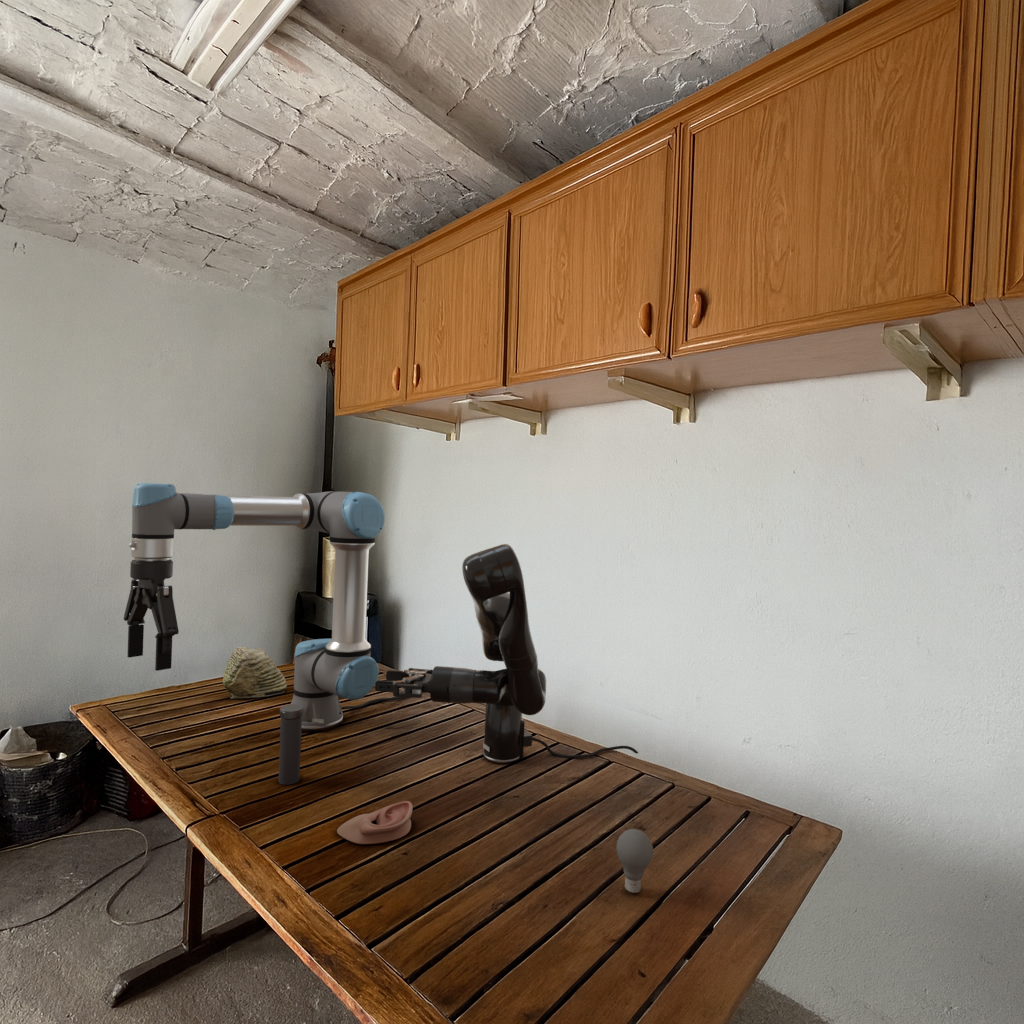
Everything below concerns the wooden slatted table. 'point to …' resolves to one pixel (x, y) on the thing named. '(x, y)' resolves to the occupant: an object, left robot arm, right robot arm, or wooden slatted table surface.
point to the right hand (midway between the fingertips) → (381, 680)
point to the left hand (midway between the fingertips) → (148, 662)
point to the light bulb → (634, 857)
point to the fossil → (252, 674)
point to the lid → (291, 711)
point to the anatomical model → (379, 825)
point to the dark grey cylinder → (290, 751)
